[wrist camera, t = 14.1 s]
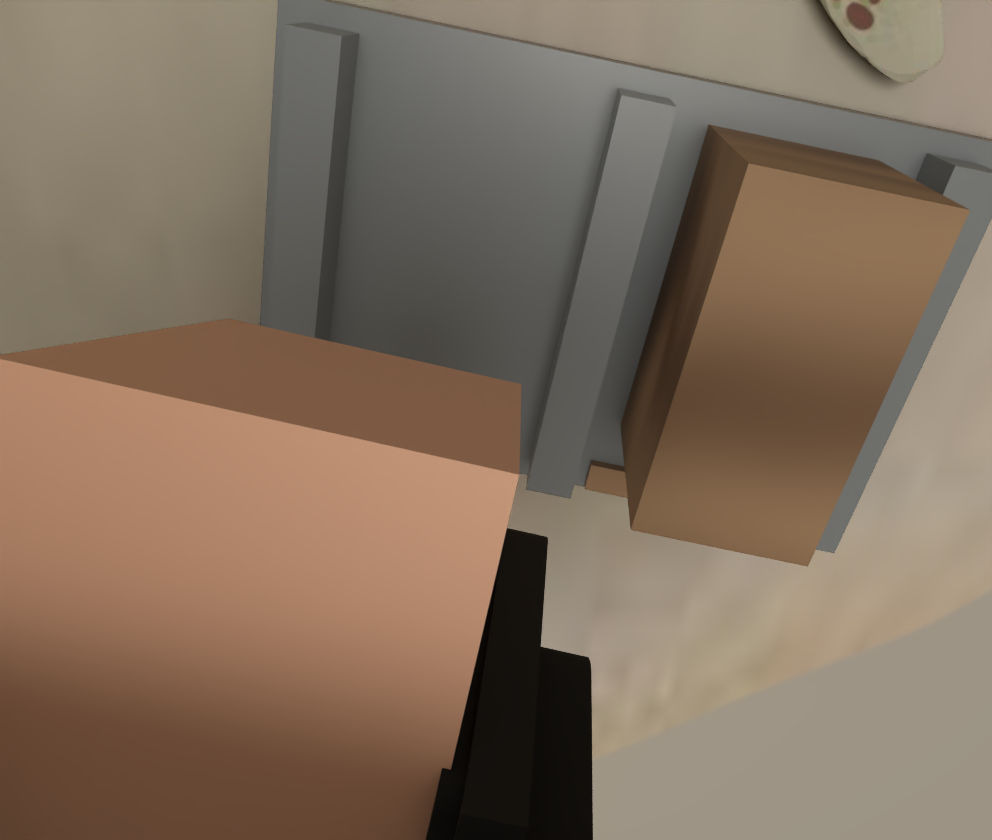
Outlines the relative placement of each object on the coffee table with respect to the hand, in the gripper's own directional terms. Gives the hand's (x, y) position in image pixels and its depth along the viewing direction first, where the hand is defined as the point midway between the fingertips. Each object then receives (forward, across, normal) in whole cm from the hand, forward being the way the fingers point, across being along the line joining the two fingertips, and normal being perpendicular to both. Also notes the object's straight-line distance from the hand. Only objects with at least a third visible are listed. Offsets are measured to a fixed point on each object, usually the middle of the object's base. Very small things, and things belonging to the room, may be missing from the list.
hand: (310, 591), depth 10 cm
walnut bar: (+12, -7, -1) cm, 14 cm away
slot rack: (+13, -4, 0) cm, 14 cm away
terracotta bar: (+1, 0, +1) cm, 2 cm away
